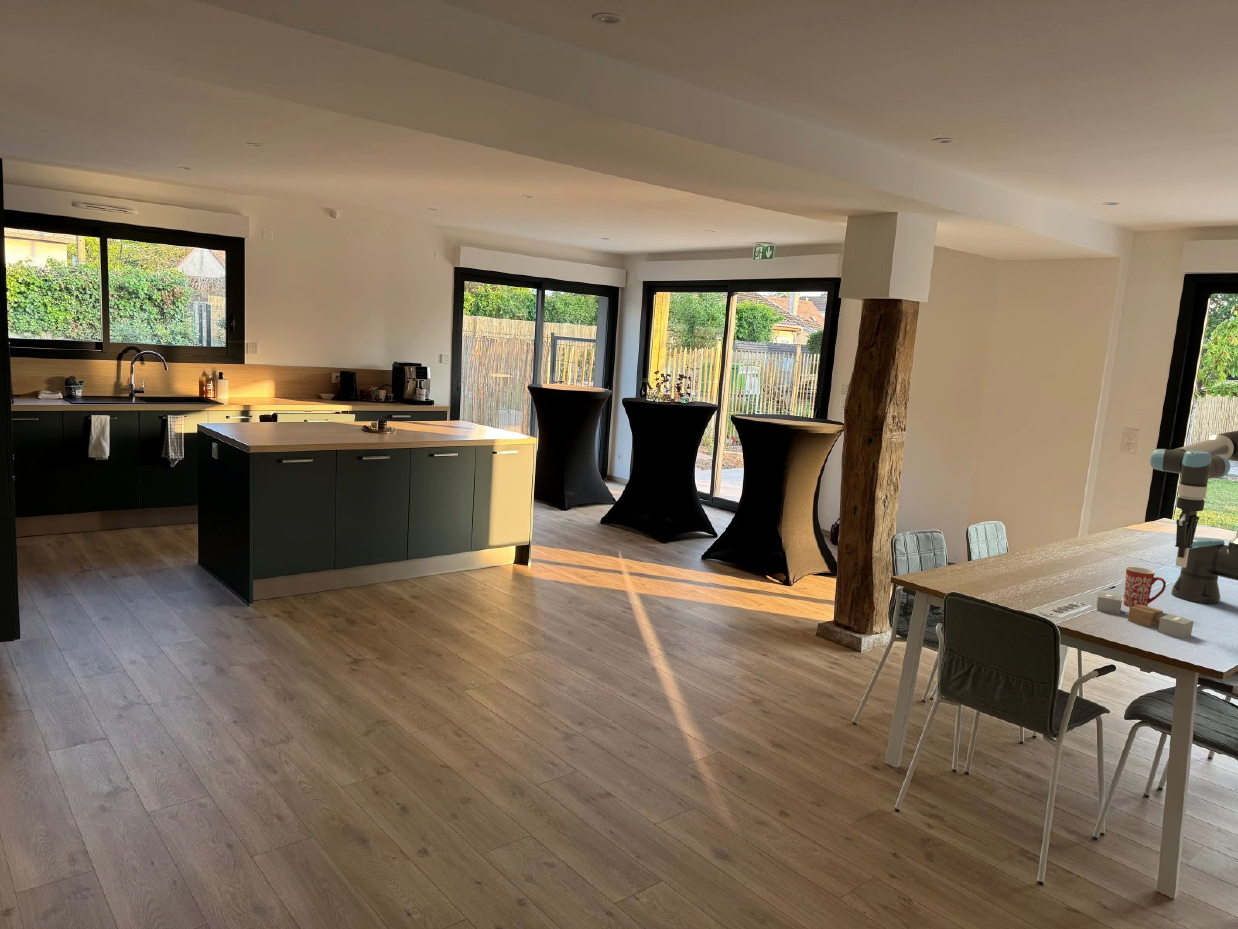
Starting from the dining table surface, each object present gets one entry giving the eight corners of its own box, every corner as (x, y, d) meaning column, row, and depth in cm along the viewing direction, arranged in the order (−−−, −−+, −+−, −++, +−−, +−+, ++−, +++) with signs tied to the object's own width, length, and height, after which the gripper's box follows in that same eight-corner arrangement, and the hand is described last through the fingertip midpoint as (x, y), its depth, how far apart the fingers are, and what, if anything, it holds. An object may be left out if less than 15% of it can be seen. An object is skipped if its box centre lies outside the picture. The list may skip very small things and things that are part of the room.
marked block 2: (1166, 629, 274) (1169, 613, 273) (1190, 635, 268) (1193, 620, 267) (1157, 632, 269) (1160, 617, 269) (1182, 639, 264) (1184, 623, 263)
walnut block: (1139, 618, 283) (1141, 604, 282) (1160, 625, 277) (1163, 611, 276) (1127, 621, 280) (1129, 606, 279) (1149, 627, 274) (1151, 613, 273)
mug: (1119, 606, 296) (1125, 569, 294) (1121, 600, 303) (1126, 564, 301) (1161, 614, 289) (1167, 577, 287) (1161, 608, 296) (1168, 572, 294)
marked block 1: (1096, 605, 296) (1098, 591, 295) (1118, 609, 292) (1121, 595, 291) (1096, 610, 289) (1098, 596, 289) (1119, 614, 286) (1122, 600, 285)
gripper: (1185, 493, 280) (1175, 560, 284) (1170, 497, 272) (1160, 566, 276) (1211, 497, 274) (1201, 566, 278) (1196, 501, 267) (1186, 572, 271)
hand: (1180, 566), depth 277 cm, fingers closed
